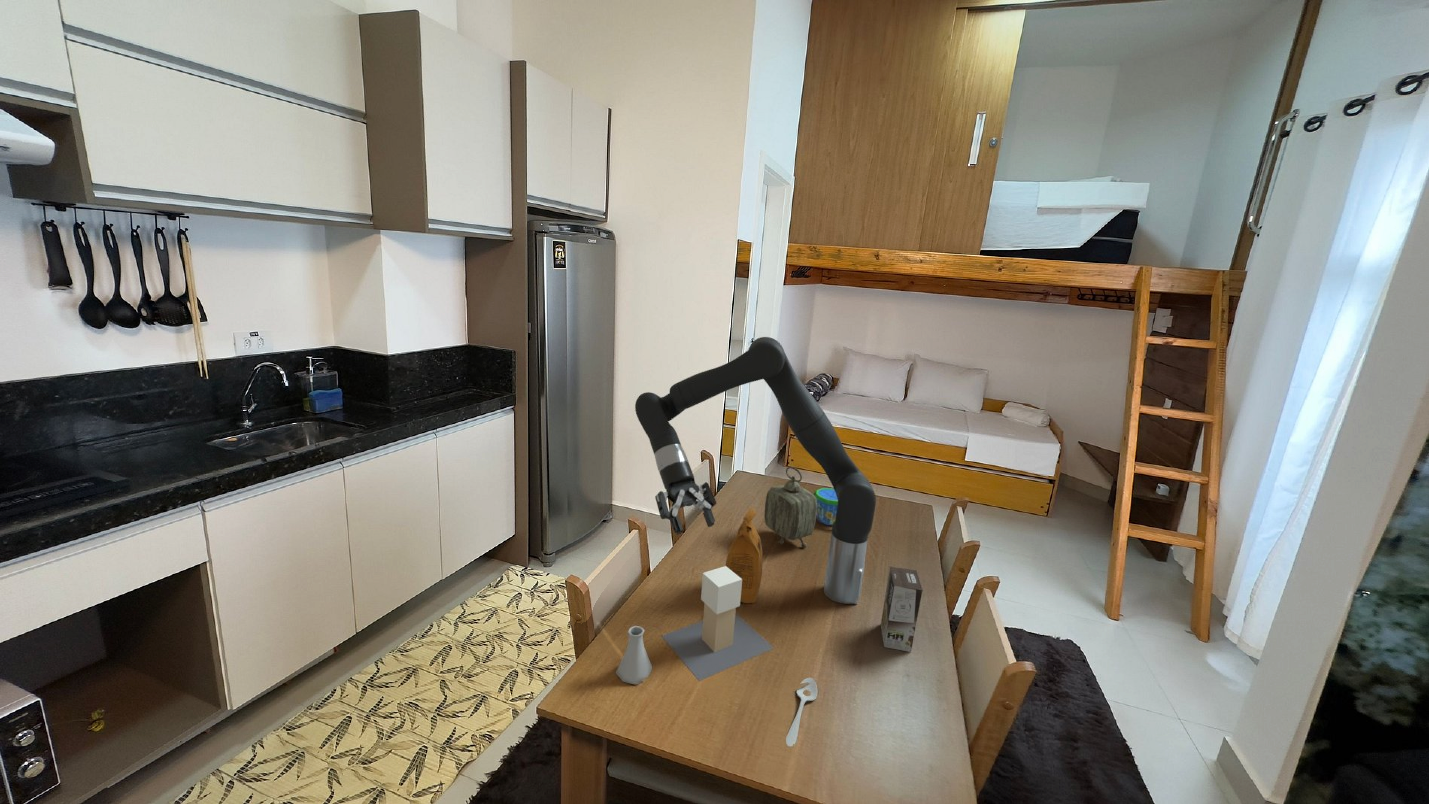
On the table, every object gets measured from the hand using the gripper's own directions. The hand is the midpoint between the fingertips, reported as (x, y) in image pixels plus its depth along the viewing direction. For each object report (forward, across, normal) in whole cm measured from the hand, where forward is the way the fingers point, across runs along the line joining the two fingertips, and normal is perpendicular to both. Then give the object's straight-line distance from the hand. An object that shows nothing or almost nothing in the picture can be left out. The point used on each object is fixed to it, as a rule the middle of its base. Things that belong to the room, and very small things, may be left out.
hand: (696, 529), depth 129 cm
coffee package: (+15, +17, +18) cm, 29 cm away
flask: (+24, -20, +10) cm, 32 cm away
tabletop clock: (+4, +46, +29) cm, 54 cm away
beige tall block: (+24, 0, +8) cm, 25 cm away
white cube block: (+17, 0, +1) cm, 17 cm away
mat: (+24, 0, +8) cm, 26 cm away
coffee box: (+38, +39, -5) cm, 54 cm away
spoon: (+43, +2, -9) cm, 44 cm away
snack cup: (+1, +69, +32) cm, 76 cm away
